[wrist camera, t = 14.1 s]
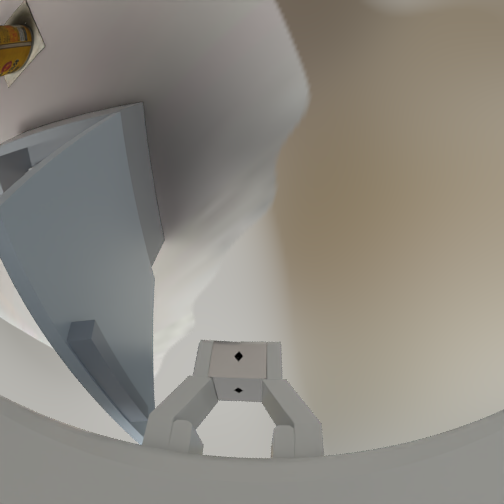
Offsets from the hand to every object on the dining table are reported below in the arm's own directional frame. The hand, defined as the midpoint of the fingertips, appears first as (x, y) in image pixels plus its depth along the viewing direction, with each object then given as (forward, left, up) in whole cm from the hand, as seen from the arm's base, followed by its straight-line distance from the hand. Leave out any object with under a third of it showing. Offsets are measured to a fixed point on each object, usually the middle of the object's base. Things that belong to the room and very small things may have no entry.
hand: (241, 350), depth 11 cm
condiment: (-26, +19, -20) cm, 38 cm away
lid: (-8, 0, -5) cm, 9 cm away
